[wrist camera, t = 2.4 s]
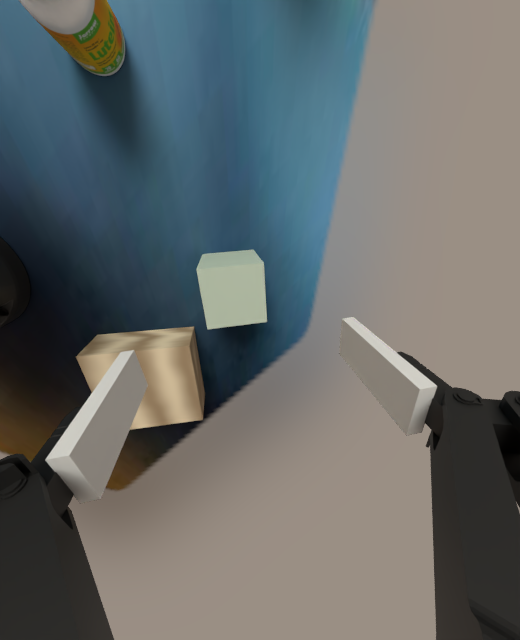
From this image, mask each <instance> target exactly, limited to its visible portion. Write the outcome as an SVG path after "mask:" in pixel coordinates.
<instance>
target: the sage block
mask: <svg viewBox="0 0 520 640" xmlns="http://www.w3.org/2000/svg"><path fill="white" fill-rule="evenodd" d="M196 270H197V275H198V280H199V286H200V291H201V297H202V302H203V307H204V313H205V318H206V324H207V329H215V328H223V327H231V326H239V325H247V324H254V323H262V322H267V313H266V295H265V277H264V263H263V261H262V260H261V259H260V258H259V256H258V255H257V254H256V253H255V251H254V250H244V251H233V252H222V253H211V254H203V255H202V257H201V259H200V262H199V264H198V267H197V269H196Z"/></svg>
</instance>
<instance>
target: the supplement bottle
mask: <svg viewBox="0 0 520 640" xmlns="http://www.w3.org/2000/svg"><path fill="white" fill-rule="evenodd" d="M19 1H20V2H21V4H22V5H23V6H24V7H25V8H26V10H27V11H28V12H29V13H30V14H31V15H32V16H33V17H34V18H35V19H36V20H37V22H38V23H40V25H41V26H42V27H43V28H44V29H45V30H46V31H47V32H48V33H49V34H50V35H51V36H52V37H53V38H54V39H55V40H56V41H57V42H58V43H59V44H60V45H61V46H62V47H63V48H64V49H65V50H66V51H67V52H68V53H69V54H70V55H71V56H72V57H73V58H74V59H75V60H76V61H77V62H78V63H79V64H80V65H81V66H82V67H83V68H85V69H86V70H88V71H89V72H91V73H93V74H96V75H99V76H109V75H112V74H114V73H116V72H117V71H118V70H119V69H120V68H121V66H122V64H123V61H124V58H125V41H124V36H123V32H122V29H121V27H120V25H119V23H118V20H117V18H116V16H115V15H114V13H113V11H112V9H111V7H110V6H109V4H108V2H107V0H19Z"/></svg>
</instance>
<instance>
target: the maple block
mask: <svg viewBox="0 0 520 640" xmlns="http://www.w3.org/2000/svg"><path fill="white" fill-rule="evenodd" d="M131 350H134V351H135V354H136V356H137V359H138V361H139V364H140V366H141V369H142V371H143V374H144V376H145V379H146V381H147V384H148V386H147V389H146V391H145V394H144V396H143V398H142V401H141V403H140V406H139V408H138V410H137V413H136V415H135V418H134V420H133V422H132V425H131V427H130V430H131V429H139V428H146V427H154V426H161V425H168V424H176V423H183V422H190V421H198V420H203V411H204V400H205V392H204V386H203V380H202V374H201V367H200V361H199V355H198V349H197V343H196V337H195V331H194V327H184V328H172V329H161V330H149V331H137V332H125V333H113V334H102V335H97V336H96V337H95V338H94V339H93V340H92V341H91V342H90V343H89V344H88V345H87V346H86V347H85V348H84V349H83V350H82V351H81V352H80V353H79V354H78V355H77V356H76V358H77V360H78V363H79V365H80V367H81V369H82V372H83V374H84V376H85V378H86V381H87V383H88V385H89V387H90V390H91V392H93V391H94V389H95V388H96V387H97V385H98V384H99V382H100V381H101V379H102V378H103V377H104V375H105V374H106V372H107V371H108V369H109V368H110V367H111V365H112V364H113V362H114V361H115V359H116V358H117V357H118V355H119V354H120V352H124V351H131Z"/></svg>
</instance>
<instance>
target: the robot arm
mask: <svg viewBox="0 0 520 640" xmlns="http://www.w3.org/2000/svg"><path fill="white" fill-rule="evenodd" d="M29 299H30V282H29V278H28V275H27V272H26V270H25V268H24V266H23V264H22V262H21V261H20V259H19V258H18V256H17V255H16V254H15V252H14V251H13V250H12V249H11V248H10V246H9V245H8V244H7V243H6V242H5V241H4V240H3V239H1V238H0V327H2V326H4V325H6V324H8V323H10V322H12V321H13V320H15V319H16V318H18V317H19V316H20V315H21V314H22V313H23V312H24V310H25V309H26V307H27V305H28V303H29ZM339 354H340V355H341V356H342V357H343V359H344V360H345V361H346V362H347V364H348V365H349V366H350V367H351V369H352V370H353V371H354V372H355V373H356V375H357V376H358V377H359V378H360V380H361V381H362V382H363V383H364V384H365V386H366V387H367V388H368V389H369V391H370V392H371V393H372V394H373V396H374V397H375V398H376V399H377V400H378V402H379V403H380V404H381V405H382V406H383V408H384V409H385V410H386V411H387V413H388V414H389V415H390V416H391V418H392V419H393V420H394V421H395V422H396V424H397V425H398V426H399V427H400V429H401V430H402V431H403V432H404V433H405V435H412V434H417V433H421V432H422V430H423V427H424V424H425V423H426V424H427V425H428V426H429V427H430V429H431V433H430V436H429V439H428V442H427V444H426V447H429V446H430V453H431V482H432V483H431V484H432V514H433V546H434V577H435V606H436V640H520V514H519V510H518V507H517V504H518V505H519V507H520V392H518V391H509V392H506V393H505V395H504V397H503V399H502V400H492V399H482V398H481V397H480V396H478V395H477V394H475V393H473V392H471V391H469V390H466V389H462V388H452V387H451V386H449V385H448V384H447V383H445V382H444V381H443V380H442V379H440V378H439V377H438V376H436V375H435V374H434V373H432V372H431V371H430V370H429V369H426V367H425V366H423V365H422V364H420V363H419V362H418V361H417V360H416V359H414V358H413V357H412V356H409V355H407V354H405V353H403V352H397V353H396V352H395V351H394V350H393V349H391V348H390V347H389V346H388V345H386V344H385V343H384V342H383V341H382V340H380V339H379V338H378V337H376V336H375V335H374V334H373V333H372V332H370V331H369V330H368V329H367V328H366V327H365V326H363V325H362V324H361V323H360V322H358V321H357V320H356V319H355V318H353V317H350V318H344V319H342V325H341V338H340V350H339ZM147 386H148V384H147V381H146V379H145V376H144V374H143V371H142V369H141V366H140V364H139V361H138V359H137V356H136V354H135V351H134V350H131V351H124V352H120V354H119V355H118V357H117V358H116V359H115V361H114V362H113V364H112V365H111V367H110V368H109V369H108V371H107V372H106V374H105V375H104V377H103V378H102V379H101V381H100V382H99V384H98V385H97V387H96V388H95V389H94V391H93V392H92V394H91V395H90V397H89V398H88V399H87V401H86V402H85V404H84V405H83V406H82V407H77V408H75V409H74V410H73V411H71V412H70V413H69V414H68V415H67V416H66V417H65V418H64V419H63V420H62V422H61V423H60V424H59V426H58V427H57V429H56V430H55V431H54V432H53V434H52V435H51V438H49V439H48V440H47V442H46V443H45V444H44V446H43V447H42V448H41V450H40V451H39V452H38V454H37V455H36V456H35V458H34V459H33V460H32V462H31V463H30V462H29V461H28V460H27V459H26V457H25V456H24V455H23V454H14V455H10V456H7V457H5V458H3V459H1V460H0V640H114V638H113V635H112V632H111V629H110V626H109V623H108V620H107V617H106V614H105V611H104V608H103V605H102V602H101V599H100V596H99V593H98V590H97V587H96V584H95V581H94V578H93V575H92V572H91V569H90V565H89V562H88V560H87V556H86V553H85V550H84V547H83V544H82V541H81V538H80V535H79V532H78V529H77V526H76V523H75V520H74V517H73V514H72V511H71V510H70V509H69V507H68V505H69V503H70V501H71V499H72V497H73V495H74V497H75V498H76V499H77V500H78V501H79V503H85V502H90V501H95V500H99V499H101V497H102V495H103V492H104V490H105V488H106V485H107V483H108V480H109V478H110V476H111V473H112V471H113V468H114V466H115V463H116V461H117V459H118V456H119V454H120V451H121V449H122V447H123V444H124V442H125V439H126V437H127V435H128V432H129V430H130V427H131V425H132V422H133V420H134V418H135V415H136V413H137V410H138V408H139V406H140V403H141V401H142V398H143V396H144V394H145V391H146V389H147ZM516 502H517V504H516Z"/></svg>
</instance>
